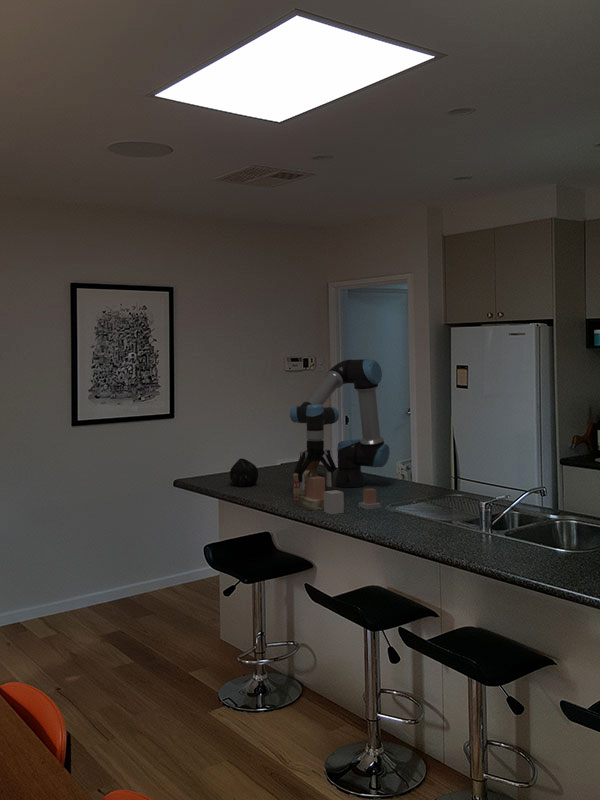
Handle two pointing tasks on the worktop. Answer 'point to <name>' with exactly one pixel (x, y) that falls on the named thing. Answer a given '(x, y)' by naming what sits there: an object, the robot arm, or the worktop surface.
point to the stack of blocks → (296, 485)
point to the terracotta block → (315, 487)
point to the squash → (243, 473)
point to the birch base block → (310, 503)
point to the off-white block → (333, 502)
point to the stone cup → (312, 466)
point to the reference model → (369, 499)
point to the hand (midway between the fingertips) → (315, 488)
